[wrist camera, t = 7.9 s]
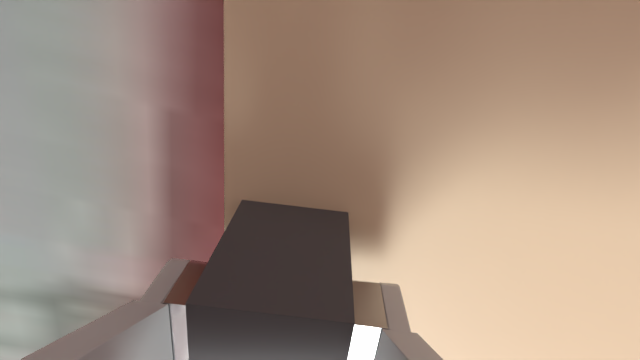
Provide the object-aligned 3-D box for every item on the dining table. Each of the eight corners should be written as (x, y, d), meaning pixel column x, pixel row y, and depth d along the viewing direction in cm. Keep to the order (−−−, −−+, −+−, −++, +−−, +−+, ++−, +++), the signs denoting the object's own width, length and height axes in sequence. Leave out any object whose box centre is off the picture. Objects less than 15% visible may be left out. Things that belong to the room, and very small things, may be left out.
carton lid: (234, -131, 7) (88, -354, 3) (927, -47, 8) (1757, -147, 3) (230, 423, 15) (186, 585, 11) (572, 463, 15) (666, 640, 11)
